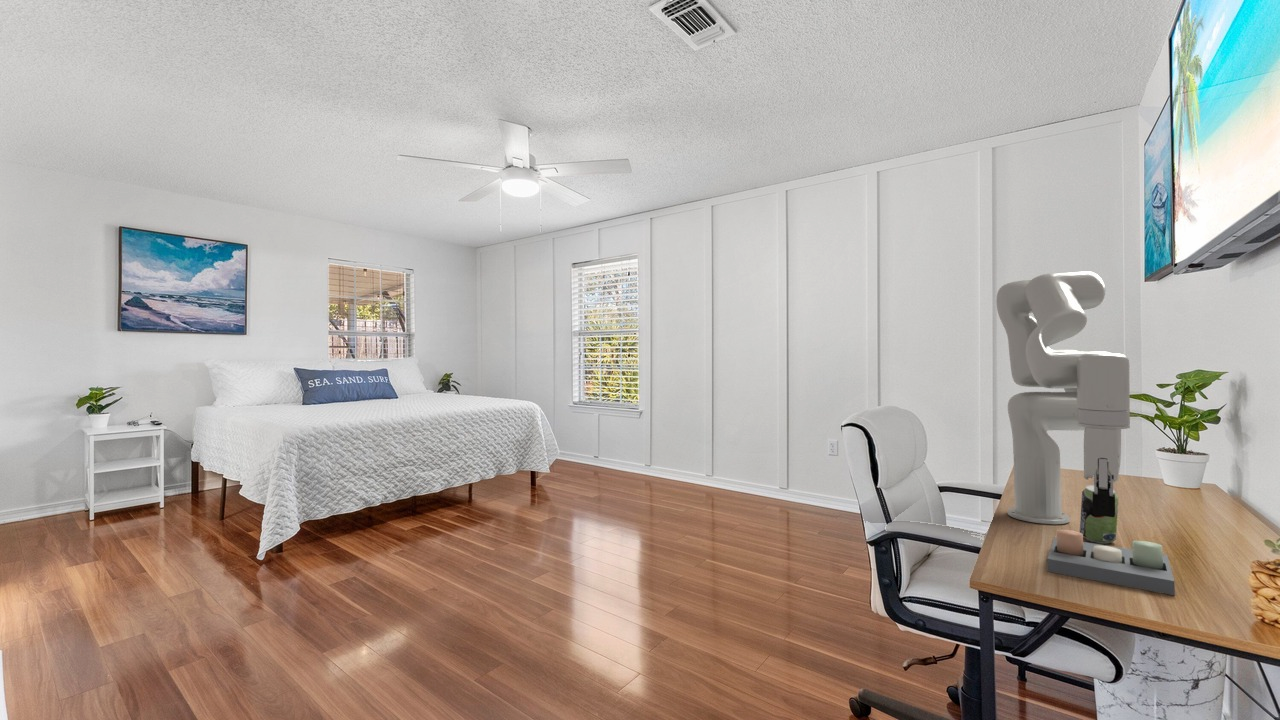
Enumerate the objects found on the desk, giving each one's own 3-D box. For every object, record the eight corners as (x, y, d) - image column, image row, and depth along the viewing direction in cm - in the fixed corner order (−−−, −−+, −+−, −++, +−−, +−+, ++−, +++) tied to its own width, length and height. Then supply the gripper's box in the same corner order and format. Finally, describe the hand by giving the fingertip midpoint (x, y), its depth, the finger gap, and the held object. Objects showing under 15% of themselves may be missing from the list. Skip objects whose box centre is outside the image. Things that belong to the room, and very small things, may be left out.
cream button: (1094, 563, 104) (1093, 544, 104) (1121, 568, 102) (1121, 548, 102) (1093, 569, 101) (1093, 549, 101) (1122, 574, 99) (1121, 554, 99)
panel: (1054, 548, 113) (1054, 537, 113) (1167, 567, 102) (1167, 554, 102) (1047, 571, 101) (1047, 558, 101) (1174, 595, 90) (1174, 581, 90)
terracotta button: (1057, 547, 108) (1057, 528, 108) (1083, 551, 105) (1083, 532, 105) (1056, 552, 105) (1055, 533, 105) (1083, 556, 102) (1082, 537, 102)
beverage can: (1102, 536, 121) (1100, 482, 121) (1128, 547, 113) (1127, 490, 114) (1072, 536, 121) (1070, 482, 122) (1096, 547, 114) (1094, 490, 114)
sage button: (1132, 559, 101) (1131, 539, 101) (1162, 564, 98) (1161, 543, 98) (1133, 565, 98) (1132, 544, 98) (1163, 570, 95) (1163, 549, 95)
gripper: (1079, 412, 110) (1080, 502, 111) (1075, 422, 99) (1076, 521, 99) (1128, 415, 105) (1129, 508, 106) (1130, 425, 94) (1131, 529, 94)
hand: (1103, 514), depth 102 cm, fingers closed
